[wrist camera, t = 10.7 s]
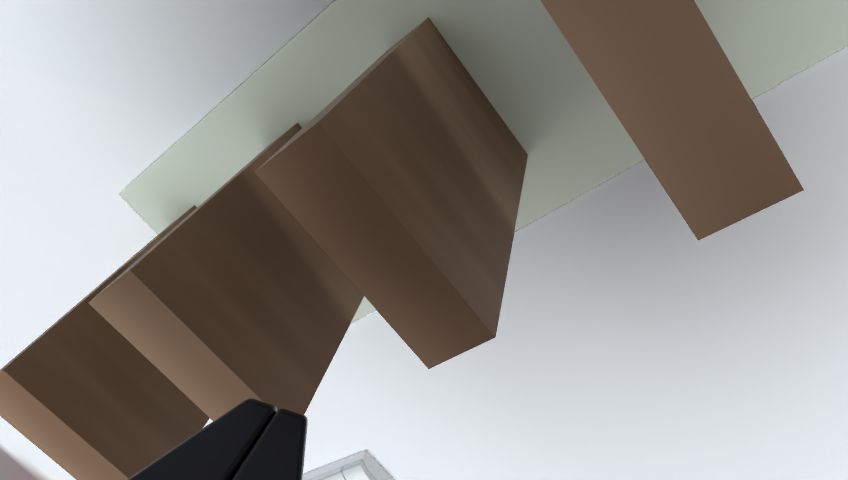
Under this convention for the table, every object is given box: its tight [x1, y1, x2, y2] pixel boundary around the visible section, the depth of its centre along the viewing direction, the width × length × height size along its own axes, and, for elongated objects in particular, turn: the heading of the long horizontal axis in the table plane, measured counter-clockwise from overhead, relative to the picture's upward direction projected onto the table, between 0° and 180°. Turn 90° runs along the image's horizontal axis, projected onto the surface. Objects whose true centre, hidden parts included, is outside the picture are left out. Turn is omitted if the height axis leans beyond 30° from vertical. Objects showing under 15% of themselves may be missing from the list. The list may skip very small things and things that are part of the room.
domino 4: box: [541, 0, 803, 240], centre depth 13 cm, size 2×5×9 cm, turn 39°
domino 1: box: [0, 205, 209, 480], centre depth 20 cm, size 2×5×9 cm, turn 38°
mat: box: [119, 0, 848, 324], centre depth 19 cm, size 9×25×1 cm, turn 129°
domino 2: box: [88, 123, 364, 421], centre depth 18 cm, size 2×5×9 cm, turn 39°
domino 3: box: [255, 17, 528, 369], centre depth 15 cm, size 2×5×9 cm, turn 38°
